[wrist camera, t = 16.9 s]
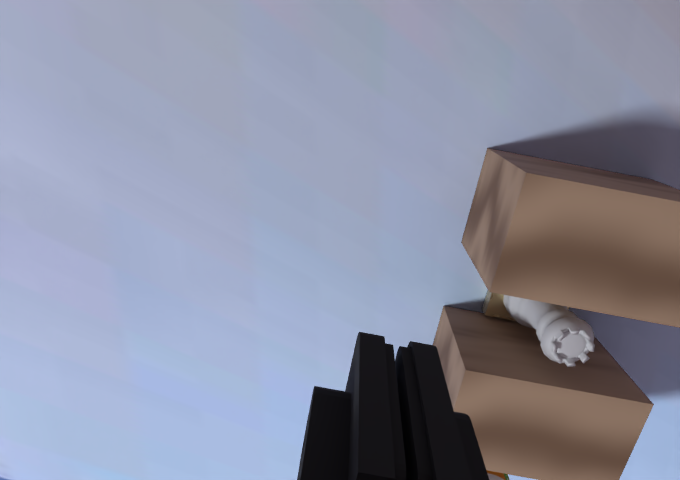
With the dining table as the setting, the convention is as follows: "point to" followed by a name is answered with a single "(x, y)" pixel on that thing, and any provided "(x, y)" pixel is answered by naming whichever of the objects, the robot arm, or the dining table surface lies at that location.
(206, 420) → the dining table surface
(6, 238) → the dining table surface
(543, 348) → the rook chess piece
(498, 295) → the gold metallic block
